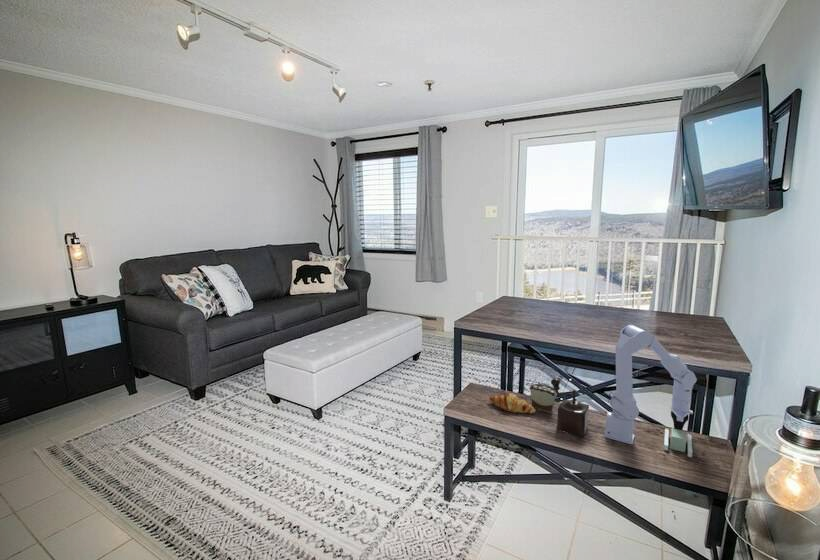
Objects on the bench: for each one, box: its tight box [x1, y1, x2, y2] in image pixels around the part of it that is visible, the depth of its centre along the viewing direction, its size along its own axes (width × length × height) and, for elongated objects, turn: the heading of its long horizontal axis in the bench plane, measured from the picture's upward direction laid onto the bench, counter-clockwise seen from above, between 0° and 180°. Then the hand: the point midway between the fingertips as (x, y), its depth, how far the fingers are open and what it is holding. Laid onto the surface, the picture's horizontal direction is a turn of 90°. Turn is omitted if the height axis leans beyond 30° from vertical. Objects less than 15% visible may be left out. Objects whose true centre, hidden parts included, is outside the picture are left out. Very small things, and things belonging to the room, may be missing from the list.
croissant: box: [489, 392, 537, 414], centre depth 175 cm, size 21×10×8 cm, turn 59°
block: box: [669, 427, 687, 453], centre depth 145 cm, size 4×7×5 cm, turn 146°
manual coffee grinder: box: [550, 378, 590, 438], centre depth 158 cm, size 16×11×18 cm
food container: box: [528, 383, 558, 414], centre depth 175 cm, size 12×6×10 cm, turn 48°
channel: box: [663, 428, 693, 458], centre depth 146 cm, size 8×14×2 cm, turn 146°
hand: (677, 431), depth 151 cm, fingers closed
